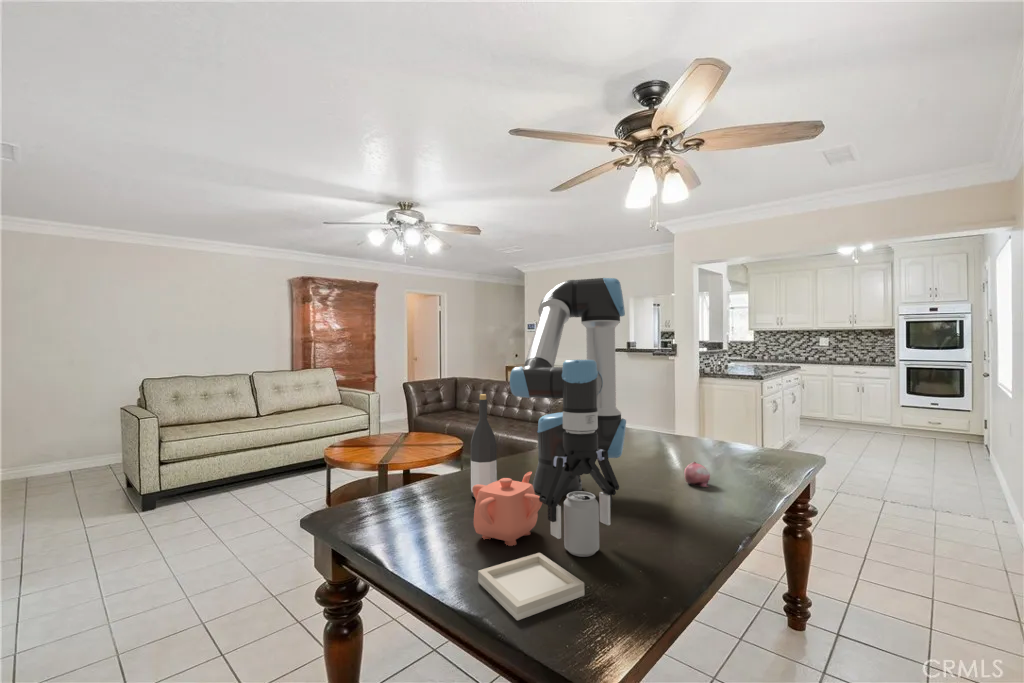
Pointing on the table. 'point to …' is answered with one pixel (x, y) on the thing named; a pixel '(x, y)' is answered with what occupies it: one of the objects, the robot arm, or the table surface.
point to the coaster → (530, 585)
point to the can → (581, 523)
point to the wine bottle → (483, 450)
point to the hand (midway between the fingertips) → (581, 529)
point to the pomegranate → (697, 475)
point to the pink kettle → (506, 509)
